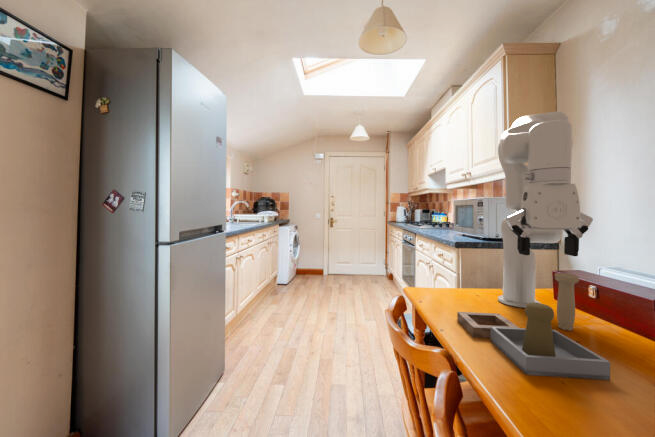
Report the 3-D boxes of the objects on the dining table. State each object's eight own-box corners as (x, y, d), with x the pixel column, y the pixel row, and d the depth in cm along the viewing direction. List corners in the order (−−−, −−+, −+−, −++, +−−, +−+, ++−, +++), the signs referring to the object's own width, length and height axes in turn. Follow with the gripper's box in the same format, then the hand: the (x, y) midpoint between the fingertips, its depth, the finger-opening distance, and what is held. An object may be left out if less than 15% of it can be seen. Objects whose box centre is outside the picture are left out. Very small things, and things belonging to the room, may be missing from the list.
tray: (490, 340, 70) (490, 326, 70) (555, 344, 68) (555, 329, 68) (525, 374, 55) (526, 356, 55) (610, 380, 53) (610, 362, 53)
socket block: (457, 320, 83) (457, 311, 83) (499, 322, 82) (499, 313, 82) (473, 337, 72) (473, 327, 72) (522, 339, 70) (522, 329, 70)
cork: (562, 362, 58) (563, 309, 58) (530, 358, 59) (530, 307, 59) (546, 348, 64) (547, 301, 64) (517, 345, 65) (517, 299, 65)
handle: (558, 331, 76) (559, 276, 75) (551, 323, 81) (552, 272, 81) (581, 335, 73) (582, 278, 73) (572, 326, 79) (573, 274, 79)
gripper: (516, 177, 59) (515, 256, 60) (606, 175, 57) (604, 258, 58) (499, 181, 67) (498, 251, 67) (578, 180, 65) (576, 253, 65)
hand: (547, 254), depth 62 cm, fingers open, 9 cm apart
